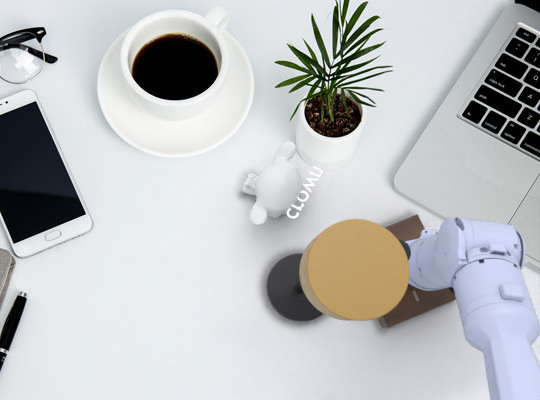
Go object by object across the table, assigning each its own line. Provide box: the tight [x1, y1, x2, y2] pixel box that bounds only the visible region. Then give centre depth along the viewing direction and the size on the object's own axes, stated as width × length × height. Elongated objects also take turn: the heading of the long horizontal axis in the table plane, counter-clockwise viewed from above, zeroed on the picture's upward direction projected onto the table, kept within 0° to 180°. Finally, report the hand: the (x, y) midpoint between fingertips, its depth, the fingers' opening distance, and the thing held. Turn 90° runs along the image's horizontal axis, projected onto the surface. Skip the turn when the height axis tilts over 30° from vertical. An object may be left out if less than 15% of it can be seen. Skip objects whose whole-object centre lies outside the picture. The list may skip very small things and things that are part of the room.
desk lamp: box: [265, 218, 411, 322], centre depth 60 cm, size 9×10×48 cm
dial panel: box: [377, 214, 456, 329], centre depth 82 cm, size 12×10×3 cm
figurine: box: [241, 140, 324, 226], centre depth 82 cm, size 12×8×10 cm
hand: (405, 269), depth 79 cm, fingers open, 7 cm apart
